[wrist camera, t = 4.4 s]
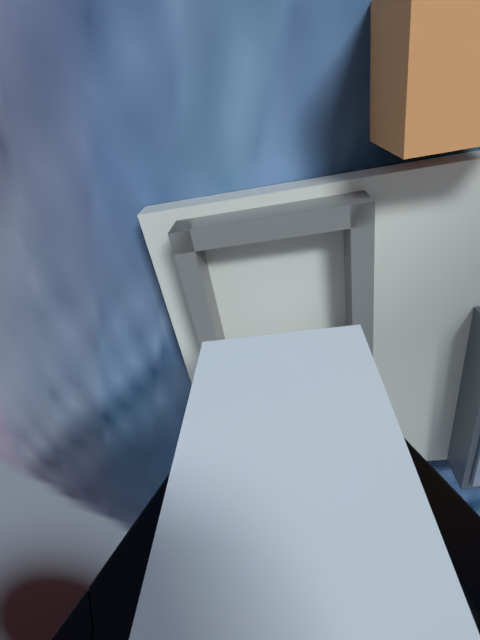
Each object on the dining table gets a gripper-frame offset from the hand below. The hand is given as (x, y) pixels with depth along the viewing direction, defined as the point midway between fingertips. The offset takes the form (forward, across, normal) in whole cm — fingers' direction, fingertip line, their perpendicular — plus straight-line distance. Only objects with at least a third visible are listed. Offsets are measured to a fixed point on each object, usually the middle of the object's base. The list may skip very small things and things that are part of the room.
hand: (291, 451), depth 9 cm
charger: (+2, 0, 0) cm, 2 cm away
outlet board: (+10, -5, +4) cm, 11 cm away
